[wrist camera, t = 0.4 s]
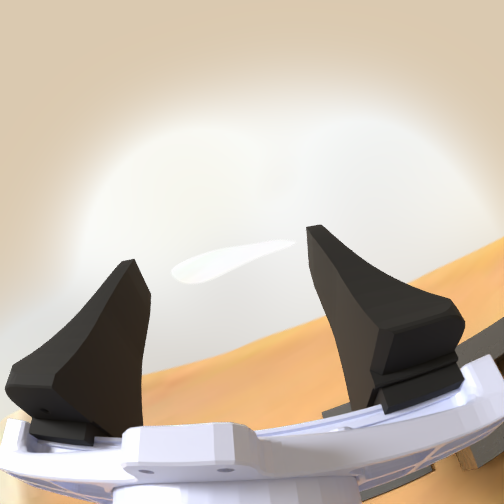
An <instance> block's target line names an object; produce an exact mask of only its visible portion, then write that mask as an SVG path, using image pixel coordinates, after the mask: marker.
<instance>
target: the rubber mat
mask: <svg viewBox="0 0 504 504" xmlns="http://www.w3.org/2000/svg"><path fill="white" fill-rule="evenodd" d="M350 412H352V410H351V405H350V402H348V403H346V404H343V405H341V406H338V407H335V408H333V409H330V410H327V411H324V412H322V415H323V418H329V417H333V416H338V415H342V414H346V413H350ZM431 471H432V468H431V465H429V466H427V467H424V468H422V469H420V470H417V471H415V472H413V473H410V474H408V475H405V476H403V477H400V478H398V479H395V480H392V481H390V482H387V483H384V484H381V485H379V486H376V487H373V488H370V489H367V490H364V491H360V496H361V501H364V500H366V499H369V498H372V497H374V496H377V495H380V494H382V493H385V492H387V491H390V490H392V489H394V488H397V487H399V486H401V485H404V484H406V483H408V482H410V481H412V480H415V479H417V478H419V477H421V476H423V475H425V474H427V473H429V472H431Z"/></svg>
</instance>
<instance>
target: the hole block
mask: <svg viewBox="0 0 504 504" xmlns="http://www.w3.org/2000/svg"><path fill="white" fill-rule="evenodd" d="M455 352H456V354H457V356H458V361H457V362H456V363H457V365H458V367H459V369H461V368H462V367H463V366H464V365H466V364H468V363H469V362H472V361H474V360H476V359H479V358H481V357H483V356H485V355H488V354H489V355H491V357H492V358H493V360H494V362H495V364H496V365H497V364H498V366H499V368H500V370H501V372H502V374H503V376H504V317H503V318H501V319H500V320H498V321H497V322H495V323H494V324H492V325H491V326H489V327H488V328H486V329H484V330H483V331H481V332H480V333H478V334H476V335H475V336H473V337H471V338H470V339H468V340H466V341H465V342H463V343H461V344H459V345H458V346H457V347H456V349H455ZM503 451H504V422H503V423H502V424H501V425H500V426H499V427H497V428H496V429H495V430H494V431H493V432H492V433H491V434H489V435H488V436H487V437H485V438H483V439H481V440H480V441H478V442H476V443H474V444H472V445H470V446H468V447H466V448H464V449H462V450H460V451H458V452H456V454H457V457H458V460H459V462H460V465H461V468H462V470H463V471H465V470H471V469H477V468H479V467H481V466H483V465H484V464H486V463H487V462H489V461H490V460H492V459H493V458H495V457H496V456H498V455H499V454H500V453H502V452H503Z"/></svg>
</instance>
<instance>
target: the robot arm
mask: <svg viewBox="0 0 504 504" xmlns="http://www.w3.org/2000/svg"><path fill="white" fill-rule="evenodd" d="M306 230H307V244H308V259H309V268H310V272H311V276H312V279H313V282H314V286H315V289H316V291H317V294H318V296H319V299H320V301H321V304H322V306H323V309H324V311H325V314H326V316H327V318H328V321H329V323H330V326H331V328H332V331H333V334H334V337H335V341H336V344H337V348H338V352H339V356H340V360H341V364H342V368H343V372H344V376H345V381H346V385H347V390H348V395H349V400H350V405H351V410H352V412H350V413H346V414H342V415H338V416H333V417H329V418H324V419H320V420H315V421H310V422H305V423H300V424H295V425H289V426H283V427H277V428H271V429H264V430H257V431H253V430H251V429H250V428H248V427H247V426H246V425H242V424H237V423H232V422H213V423H201V424H187V425H167V426H143V416H142V395H141V377H142V359H143V353H144V347H145V340H146V335H147V330H148V324H149V317H150V306H151V293H150V291H149V289H148V287H147V285H146V283H145V281H144V278H143V276H142V274H141V272H140V270H139V268H138V266H137V264H136V261H135V259H131V260H126V261H122V262H121V263H120V264H119V265H118V266H117V267H116V268H115V269H114V271H113V272H112V273H111V274H110V276H109V277H108V278H107V279H106V281H105V282H104V283H103V284H102V285H101V287H100V288H99V289H98V290H97V292H96V293H95V294H94V295H93V296H92V298H91V299H90V300H89V301H88V302H87V303H86V305H85V306H84V307H83V308H82V309H81V311H80V312H79V313H78V314H77V315H76V316H75V317H74V318H73V319H72V320H71V321H70V322H69V323H68V324H67V325H66V326H65V327H64V328H62V329H61V330H60V331H59V332H58V333H57V334H56V335H55V336H53V337H52V338H51V339H50V340H49V341H47V342H46V343H45V344H44V345H42V346H41V347H40V348H38V349H37V350H36V351H34V352H33V353H31V354H30V355H28V356H27V357H25V358H23V359H22V360H20V361H19V362H17V363H15V364H14V365H13V366H12V369H11V372H10V375H9V377H8V381H7V383H6V386H5V391H6V394H7V395H8V397H9V398H10V399H11V400H12V401H13V402H14V403H15V404H16V405H17V406H19V407H20V408H21V409H22V410H23V411H25V412H26V413H27V414H28V415H30V416H31V417H32V421H31V424H30V423H29V422H26V421H23V420H16V419H10V418H9V419H8V420H7V424H6V427H5V431H4V435H3V439H2V444H1V448H0V470H2V471H4V472H6V473H8V474H9V475H11V476H13V477H15V478H17V479H19V480H21V481H23V482H25V483H27V484H29V485H31V486H33V487H35V488H39V489H42V490H46V491H50V492H53V493H57V494H61V495H65V496H68V497H72V498H76V499H81V500H85V501H89V502H94V503H98V504H362V501H361V496H360V491H364V490H367V489H370V488H373V487H376V486H379V485H381V484H384V483H387V482H390V481H392V480H395V479H398V478H400V477H403V476H405V475H408V474H410V473H413V472H415V471H417V470H420V469H422V468H424V467H427V466H429V465H431V464H433V463H435V462H438V461H440V460H442V459H444V458H446V457H448V456H450V455H452V454H454V453H456V452H458V451H460V450H462V449H464V448H466V447H468V446H470V445H472V444H474V443H476V442H478V441H480V440H481V439H483V438H485V437H487V436H488V435H489V434H491V433H492V432H493V431H494V430H495V429H496V428H497V427H499V426H500V425H501V424H502V423H503V422H504V379H503V377H502V375H501V373H500V371H499V369H498V367H497V366H496V364H495V362H494V360H493V358H492V357H491V355H489V354H488V355H485V356H483V357H481V358H479V359H476V360H474V361H472V362H469V363H468V364H466V365H464V366H463V367H462V368H461V369H459V367H458V365H457V363H456V362H457V361H458V356H457V354H456V352H455V349H456V347H457V345H458V343H459V341H460V339H461V337H462V335H463V332H464V329H465V320H464V319H463V317H462V316H461V314H460V312H459V310H458V309H457V307H456V306H455V305H454V303H453V302H452V301H451V299H448V298H445V297H442V296H438V295H435V294H431V293H428V292H425V291H423V290H420V289H418V288H415V287H413V286H410V285H408V284H406V283H403V282H401V281H399V280H397V279H395V278H393V277H391V276H389V275H387V274H386V273H384V272H382V271H380V270H379V269H377V268H376V267H374V266H372V265H371V264H369V263H367V262H366V261H365V260H363V259H362V258H361V257H359V256H358V255H357V254H355V253H354V252H353V251H352V250H350V249H349V248H348V247H347V246H345V245H344V244H343V243H342V242H341V241H339V240H338V239H337V238H336V237H335V236H334V235H332V234H331V233H330V232H329V231H328V230H327V229H326V228H325V227H323V226H322V225H316V226H310V227H306Z"/></svg>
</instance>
